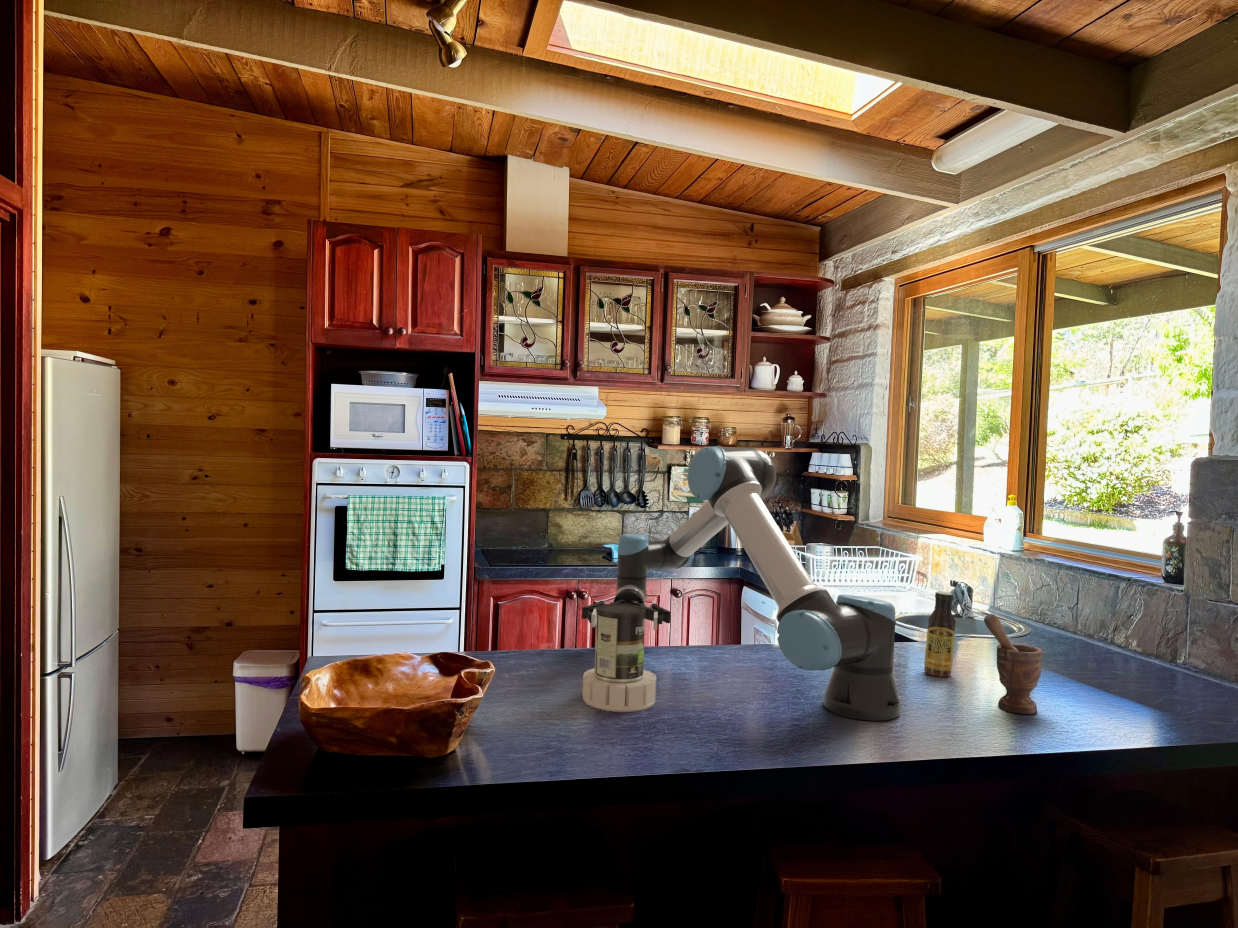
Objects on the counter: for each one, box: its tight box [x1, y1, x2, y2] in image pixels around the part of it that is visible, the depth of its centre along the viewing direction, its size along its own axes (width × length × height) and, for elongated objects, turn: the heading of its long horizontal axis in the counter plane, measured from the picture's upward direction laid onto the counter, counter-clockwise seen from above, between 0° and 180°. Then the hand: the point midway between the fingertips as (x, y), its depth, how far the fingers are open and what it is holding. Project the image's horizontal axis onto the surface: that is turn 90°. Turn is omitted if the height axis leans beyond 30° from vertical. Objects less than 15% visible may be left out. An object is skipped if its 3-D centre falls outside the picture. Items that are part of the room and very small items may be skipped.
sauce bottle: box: [923, 591, 956, 678], centre depth 197 cm, size 6×6×20 cm
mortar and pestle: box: [983, 613, 1043, 715], centre depth 172 cm, size 12×9×20 cm
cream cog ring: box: [581, 667, 657, 713], centre depth 169 cm, size 15×15×5 cm
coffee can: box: [594, 603, 646, 683], centre depth 169 cm, size 10×10×14 cm
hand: (624, 622), depth 178 cm, fingers open, 13 cm apart
